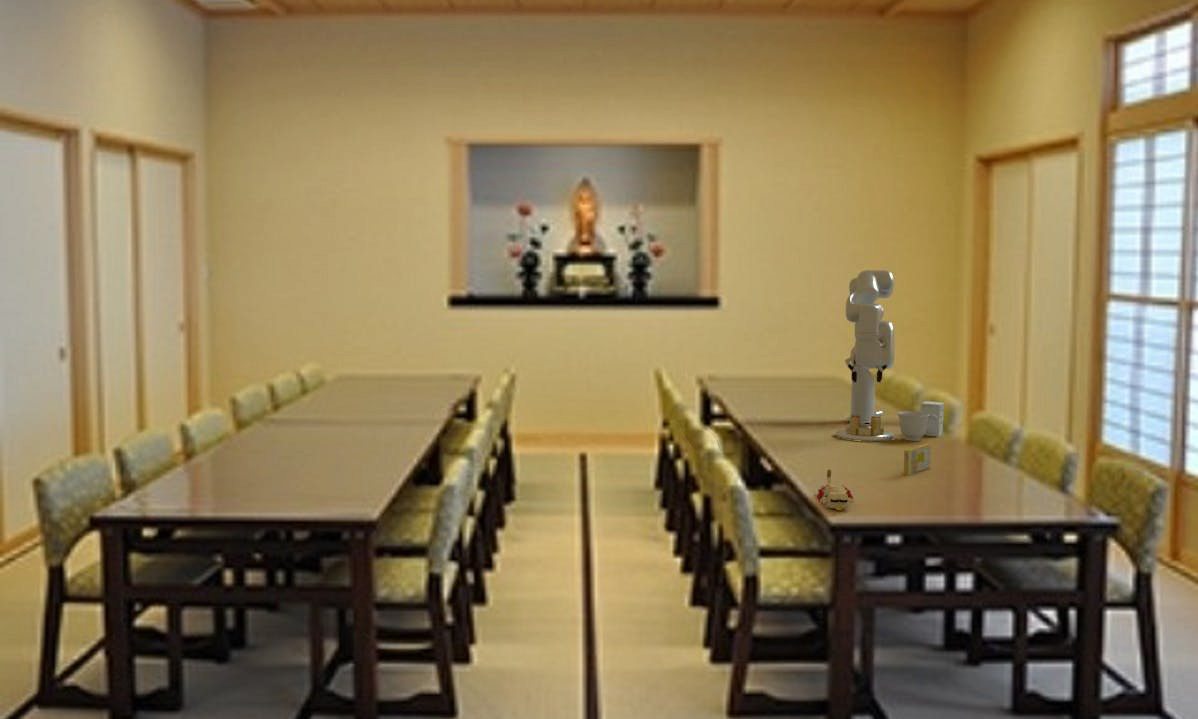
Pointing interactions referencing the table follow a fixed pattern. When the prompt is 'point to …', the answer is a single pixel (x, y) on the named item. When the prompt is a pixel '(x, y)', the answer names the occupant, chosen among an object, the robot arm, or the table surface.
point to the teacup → (914, 424)
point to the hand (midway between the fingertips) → (866, 381)
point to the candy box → (916, 459)
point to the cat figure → (834, 495)
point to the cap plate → (883, 437)
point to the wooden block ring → (875, 425)
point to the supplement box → (933, 409)
